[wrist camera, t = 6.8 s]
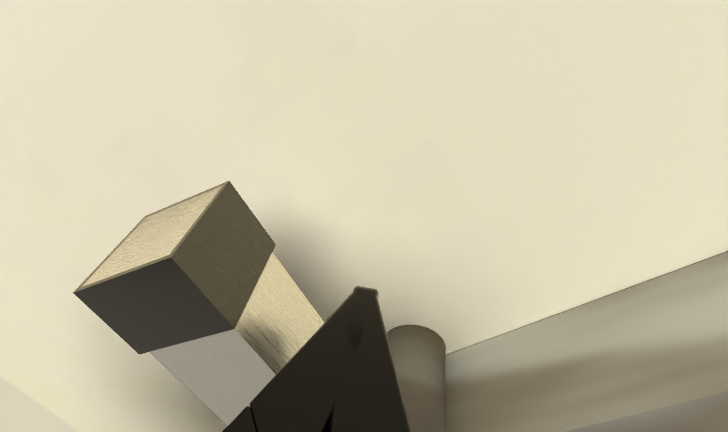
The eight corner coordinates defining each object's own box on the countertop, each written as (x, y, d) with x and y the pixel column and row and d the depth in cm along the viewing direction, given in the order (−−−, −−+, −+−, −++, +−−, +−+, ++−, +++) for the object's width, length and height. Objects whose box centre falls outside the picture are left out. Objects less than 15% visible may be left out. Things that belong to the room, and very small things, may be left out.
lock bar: (461, 491, 14) (464, 604, 12) (384, 497, 15) (373, 602, 12) (237, 177, 8) (164, 276, 6) (137, 218, 9) (43, 318, 7)
